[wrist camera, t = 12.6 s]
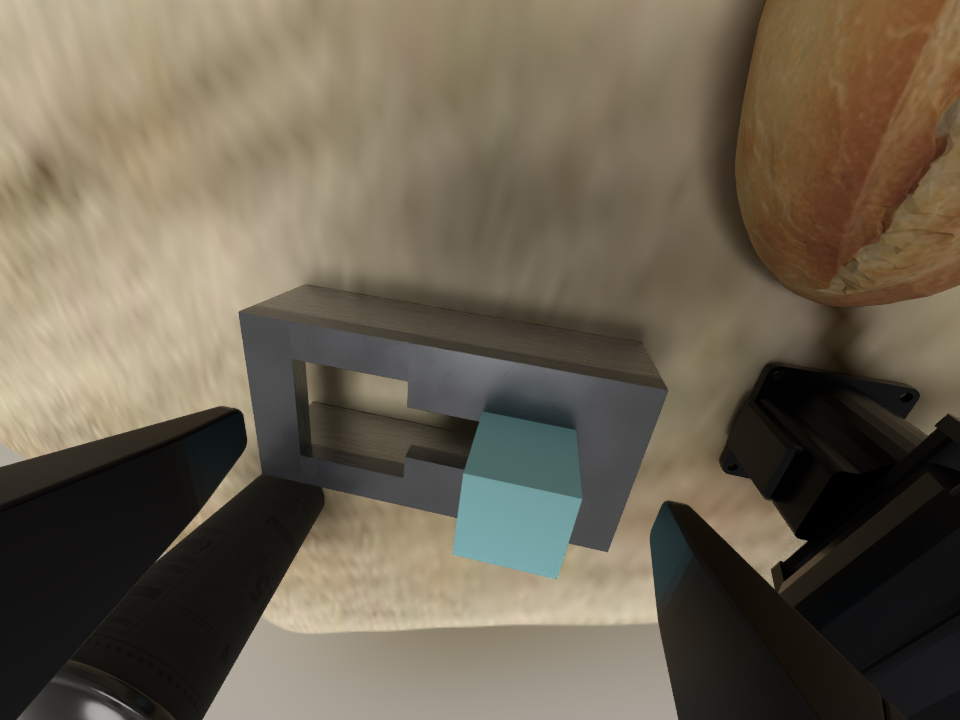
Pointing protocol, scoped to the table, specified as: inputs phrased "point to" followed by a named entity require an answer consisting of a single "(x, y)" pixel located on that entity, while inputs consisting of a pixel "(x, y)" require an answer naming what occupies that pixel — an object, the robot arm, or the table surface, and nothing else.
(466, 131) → the table surface
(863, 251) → the bread roll
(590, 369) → the keyhole plate
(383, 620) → the table surface
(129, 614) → the drinking cup
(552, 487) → the peg
